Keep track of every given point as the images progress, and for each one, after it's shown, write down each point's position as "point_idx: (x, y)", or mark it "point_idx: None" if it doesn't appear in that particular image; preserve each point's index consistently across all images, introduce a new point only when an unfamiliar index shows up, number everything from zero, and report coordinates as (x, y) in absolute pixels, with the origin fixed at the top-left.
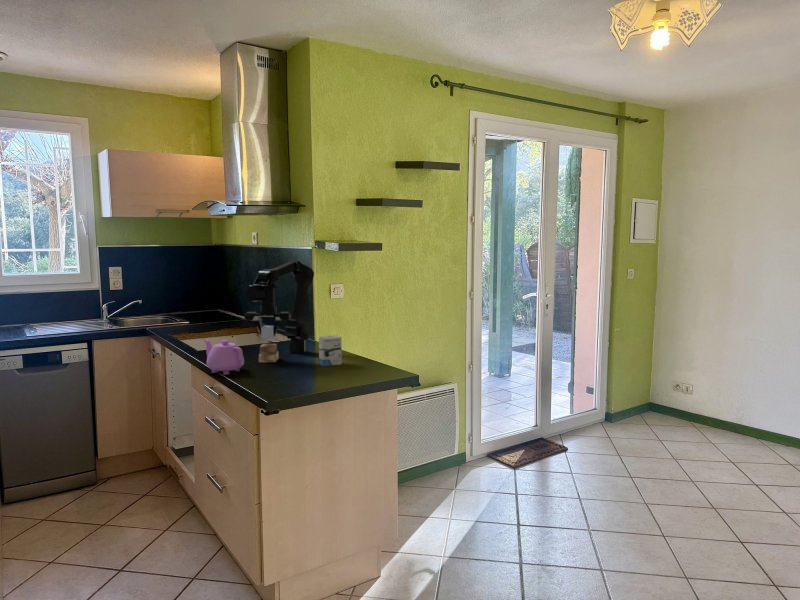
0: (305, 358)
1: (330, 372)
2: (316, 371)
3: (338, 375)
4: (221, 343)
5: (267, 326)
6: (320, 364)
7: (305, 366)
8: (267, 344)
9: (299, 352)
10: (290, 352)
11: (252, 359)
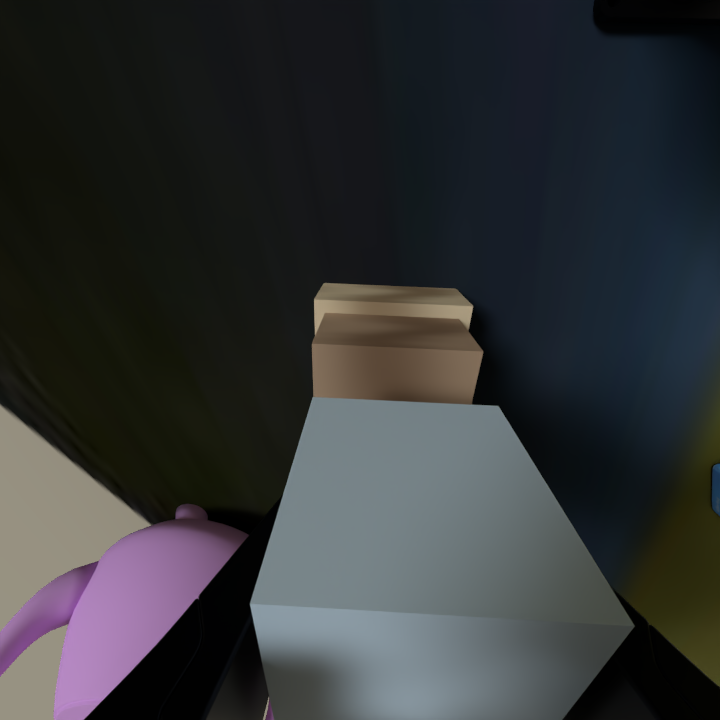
0: (682, 293)
1: (697, 592)
2: (638, 576)
3: (709, 624)
4: (75, 712)
5: (397, 684)
6: (713, 487)
7: (611, 501)
8: (374, 384)
9: (713, 20)
10: (601, 15)
11: (252, 306)
